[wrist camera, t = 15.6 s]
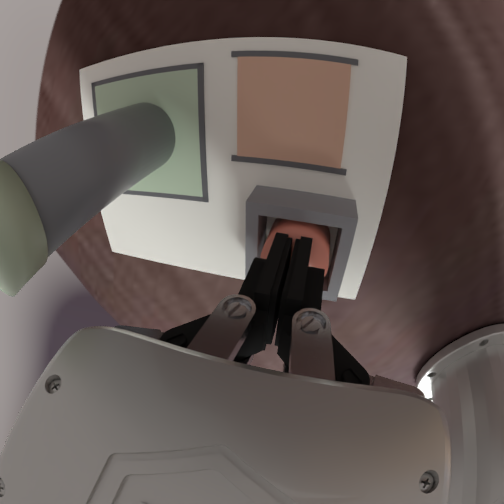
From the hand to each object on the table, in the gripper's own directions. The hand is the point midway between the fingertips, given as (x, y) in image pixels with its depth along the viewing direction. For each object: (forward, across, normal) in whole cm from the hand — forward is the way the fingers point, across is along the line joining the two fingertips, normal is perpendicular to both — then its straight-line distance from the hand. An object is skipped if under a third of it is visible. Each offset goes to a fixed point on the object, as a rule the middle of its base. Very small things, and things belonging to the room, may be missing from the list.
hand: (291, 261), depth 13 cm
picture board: (+3, +5, -3) cm, 6 cm away
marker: (+3, +9, -5) cm, 10 cm away
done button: (+2, 0, 0) cm, 2 cm away
